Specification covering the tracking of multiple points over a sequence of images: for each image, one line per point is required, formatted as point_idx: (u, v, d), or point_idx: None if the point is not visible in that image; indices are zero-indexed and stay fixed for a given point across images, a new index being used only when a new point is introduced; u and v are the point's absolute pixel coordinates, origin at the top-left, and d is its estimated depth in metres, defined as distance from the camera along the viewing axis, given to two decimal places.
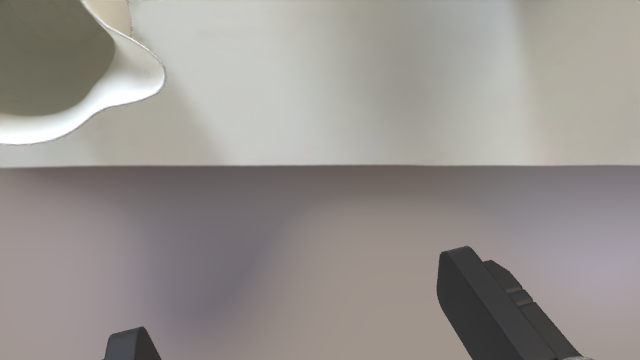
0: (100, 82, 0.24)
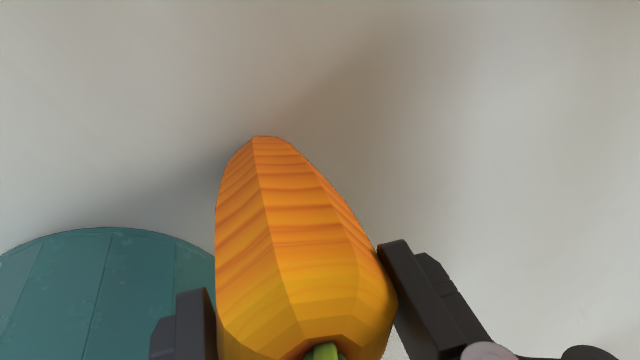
0: None
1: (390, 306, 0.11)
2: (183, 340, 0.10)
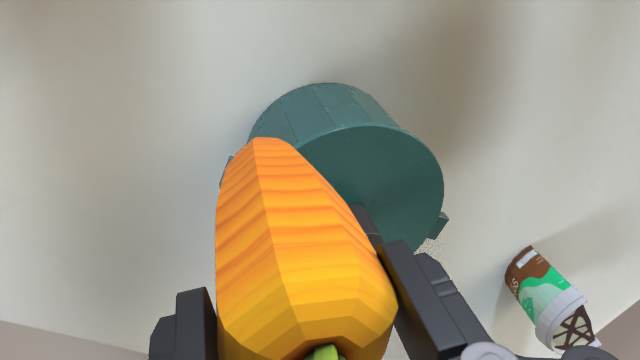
0: None
1: (391, 307, 0.11)
2: (183, 340, 0.10)
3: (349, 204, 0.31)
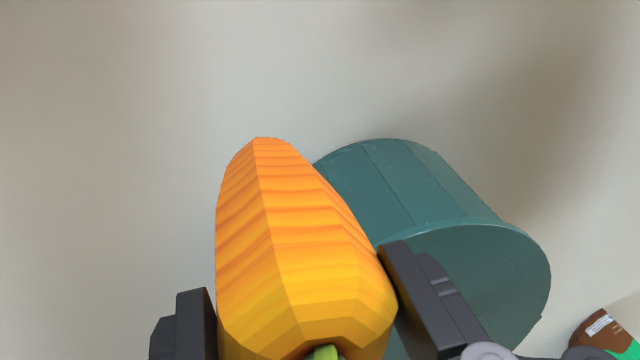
0: None
1: (391, 307, 0.11)
2: (183, 340, 0.10)
3: None
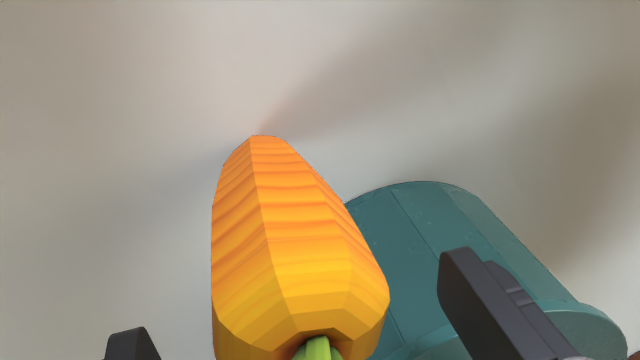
0: None
1: (382, 301, 0.11)
2: None
3: None
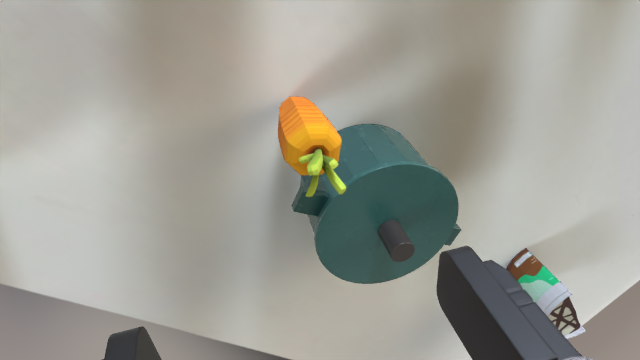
0: None
1: (338, 141, 0.34)
2: None
3: (387, 220, 0.42)
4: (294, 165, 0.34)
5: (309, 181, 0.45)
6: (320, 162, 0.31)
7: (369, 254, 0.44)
